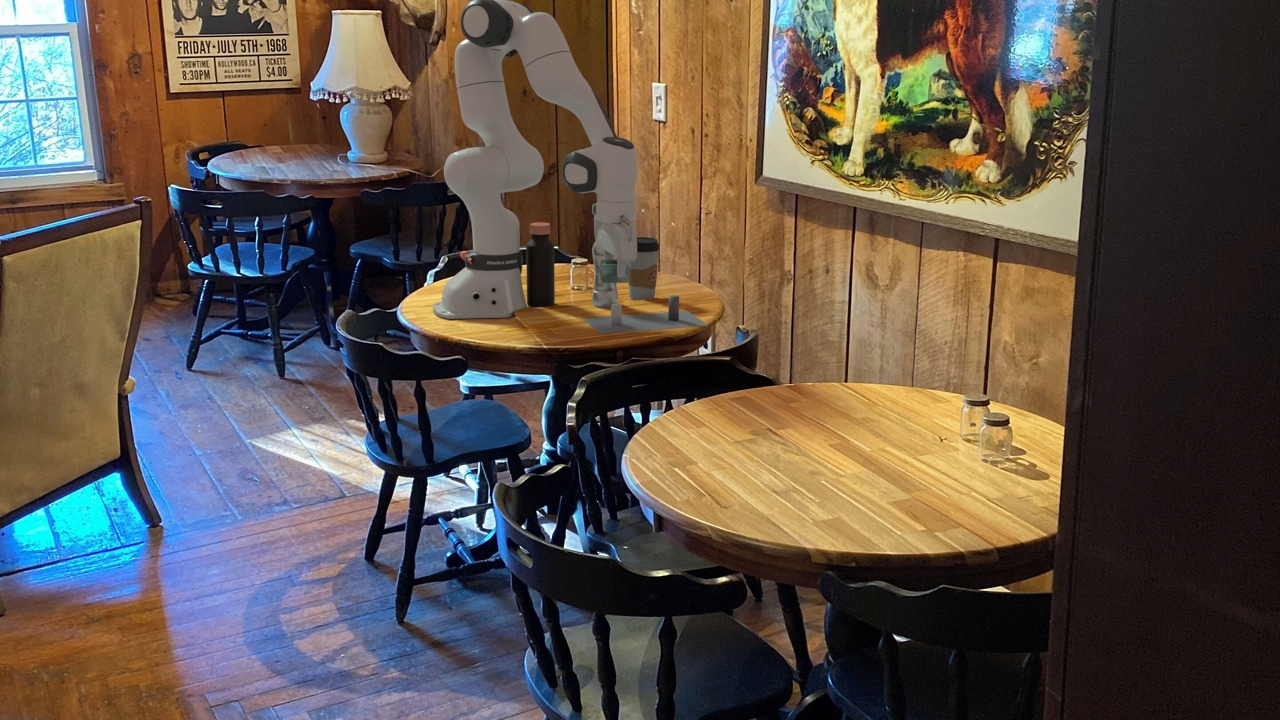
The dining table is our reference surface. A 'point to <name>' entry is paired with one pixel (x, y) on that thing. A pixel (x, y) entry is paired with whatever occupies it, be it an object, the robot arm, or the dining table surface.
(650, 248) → the coffee cup
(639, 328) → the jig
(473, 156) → the robot arm
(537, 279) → the vinegar
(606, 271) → the collar
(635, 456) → the dining table surface
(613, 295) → the plastic bottle
